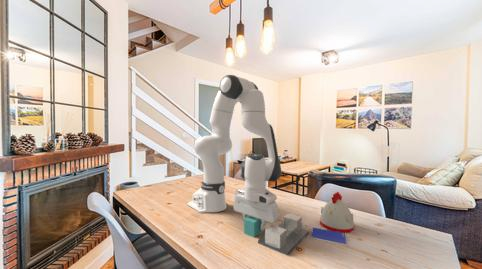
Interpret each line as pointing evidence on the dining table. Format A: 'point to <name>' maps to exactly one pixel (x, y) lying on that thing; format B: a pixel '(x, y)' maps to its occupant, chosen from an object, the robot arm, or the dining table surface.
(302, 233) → the rail panel
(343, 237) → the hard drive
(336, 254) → the dining table surface
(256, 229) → the block
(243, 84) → the robot arm
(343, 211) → the kitchen timer
